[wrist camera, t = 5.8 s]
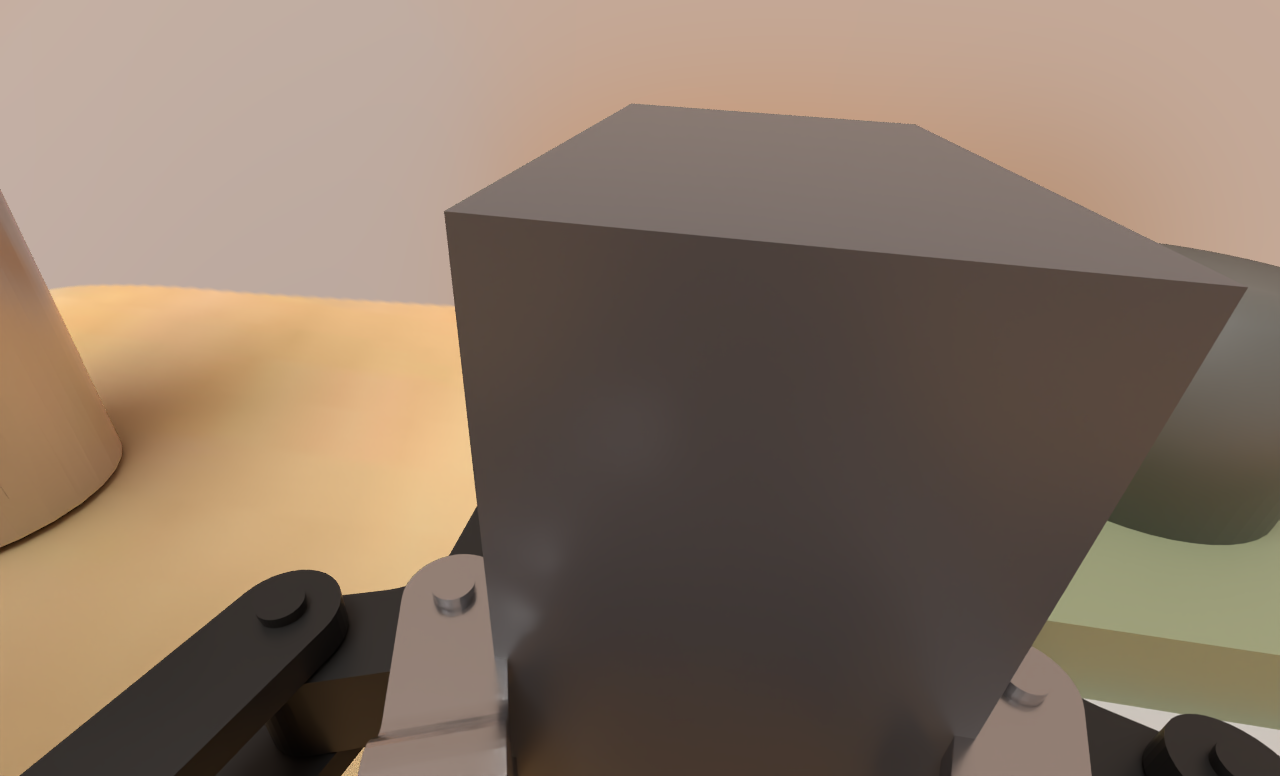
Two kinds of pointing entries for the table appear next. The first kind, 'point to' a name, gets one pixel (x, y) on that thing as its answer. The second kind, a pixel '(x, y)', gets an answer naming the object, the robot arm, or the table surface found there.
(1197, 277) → the dark grey angled block
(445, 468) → the table surface
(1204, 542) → the green block with cylinder
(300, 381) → the table surface
